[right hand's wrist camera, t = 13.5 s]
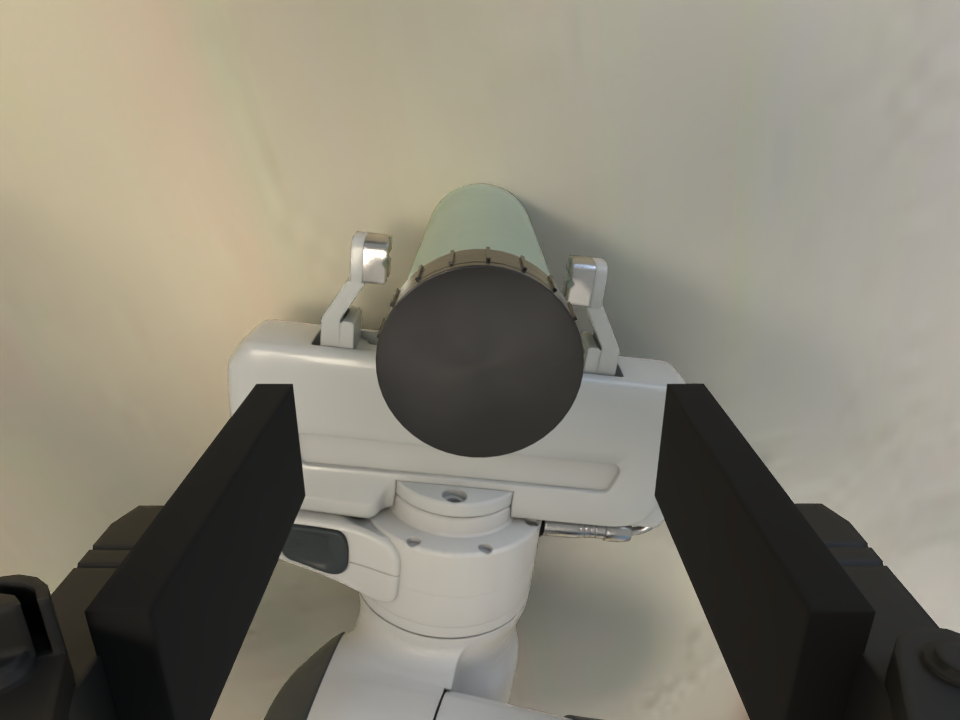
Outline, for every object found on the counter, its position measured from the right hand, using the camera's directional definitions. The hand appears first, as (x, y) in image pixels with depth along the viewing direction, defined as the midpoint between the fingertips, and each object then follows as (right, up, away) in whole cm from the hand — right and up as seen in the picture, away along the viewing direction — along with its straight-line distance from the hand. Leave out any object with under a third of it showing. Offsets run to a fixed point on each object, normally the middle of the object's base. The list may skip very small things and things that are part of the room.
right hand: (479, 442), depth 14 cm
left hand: (0, +6, +14) cm, 15 cm away
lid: (0, +2, +4) cm, 4 cm away
